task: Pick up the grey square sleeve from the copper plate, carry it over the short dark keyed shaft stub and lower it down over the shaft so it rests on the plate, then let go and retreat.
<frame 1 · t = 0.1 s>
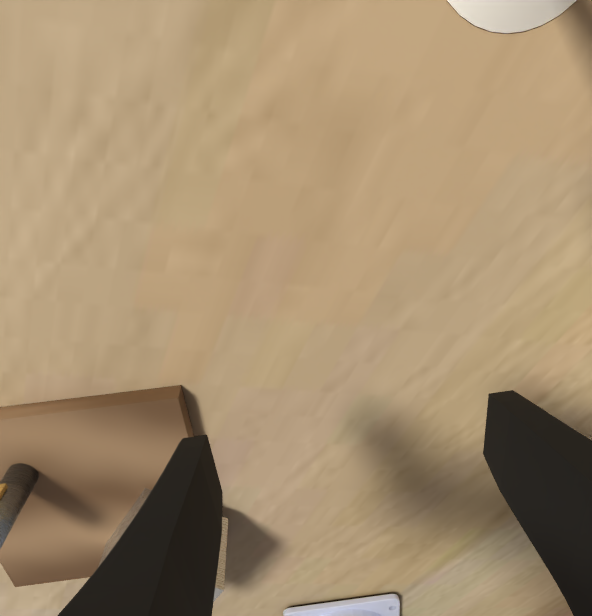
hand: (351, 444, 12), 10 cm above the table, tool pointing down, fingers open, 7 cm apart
copper plate: (93, 487, 25), on the table
grey square sleeve: (166, 531, 26), point 1 cm above the table, touching copper plate
shaft stub: (31, 459, 24), resting on copper plate
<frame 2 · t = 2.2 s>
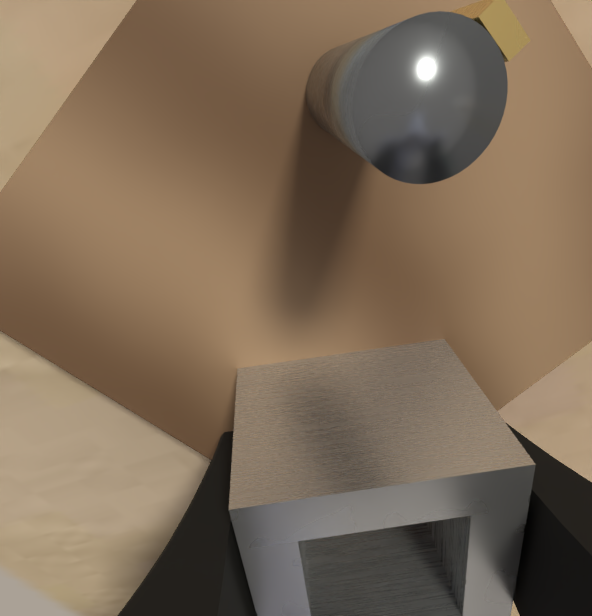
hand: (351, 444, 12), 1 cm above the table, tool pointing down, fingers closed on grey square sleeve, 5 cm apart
copper plate: (333, 255, 11), on the table
grey square sleeve: (348, 433, 12), point 1 cm above the table, touching gripper, copper plate
shaft stub: (337, 91, 9), resting on copper plate
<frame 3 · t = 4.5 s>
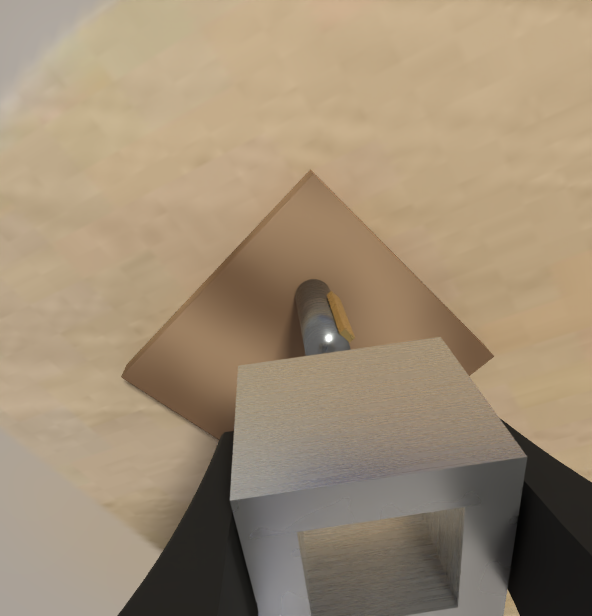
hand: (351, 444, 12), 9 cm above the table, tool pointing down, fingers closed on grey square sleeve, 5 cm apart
copper plate: (310, 354, 22), on the table
grey square sleeve: (346, 429, 12), point 9 cm above the table, touching gripper
shaft stub: (310, 286, 20), resting on copper plate
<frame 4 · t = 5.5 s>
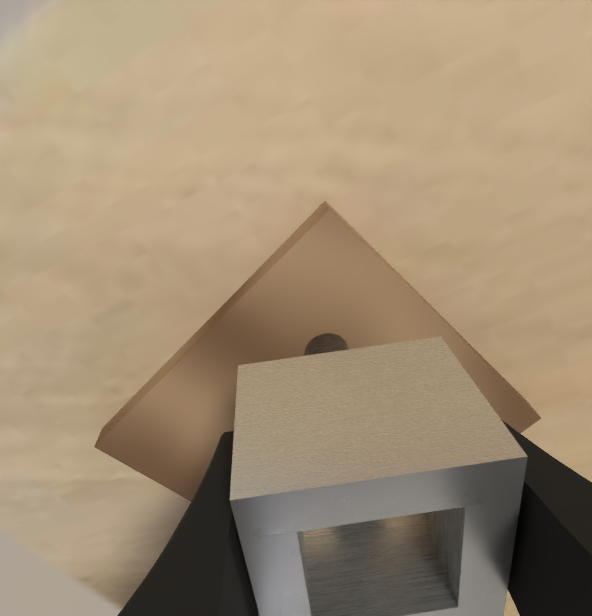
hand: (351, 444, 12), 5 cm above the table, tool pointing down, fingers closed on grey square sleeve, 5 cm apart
copper plate: (321, 414, 18), on the table
grey square sleeve: (346, 429, 12), point 5 cm above the table, touching gripper
shaft stub: (322, 337, 17), resting on copper plate
when the fingers open (3 cm above the table, at t = 6.6 s): grey square sleeve drops 2 cm, resting on copper plate.
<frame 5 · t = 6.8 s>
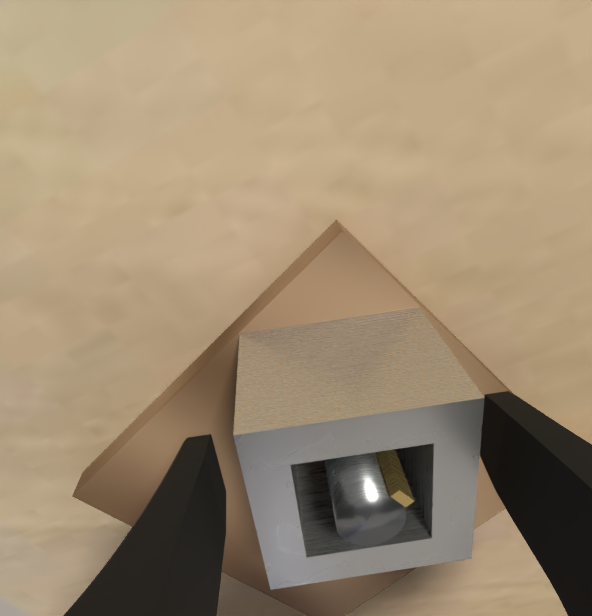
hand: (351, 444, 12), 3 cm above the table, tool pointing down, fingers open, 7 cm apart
copper plate: (329, 455, 16), on the table
grey square sleeve: (337, 393, 14), point 1 cm above the table, touching copper plate
shaft stub: (332, 372, 15), resting on copper plate
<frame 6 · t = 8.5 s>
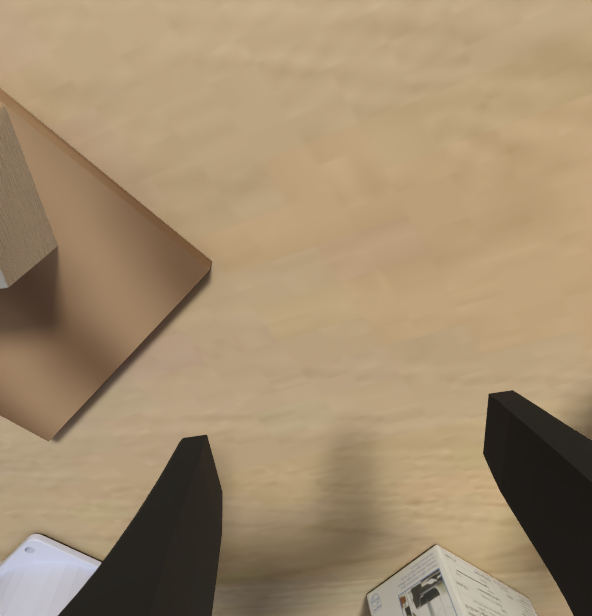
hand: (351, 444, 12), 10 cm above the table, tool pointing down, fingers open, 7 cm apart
copper plate: (6, 269, 19), on the table
light bulb box: (448, 591, 32), on the table
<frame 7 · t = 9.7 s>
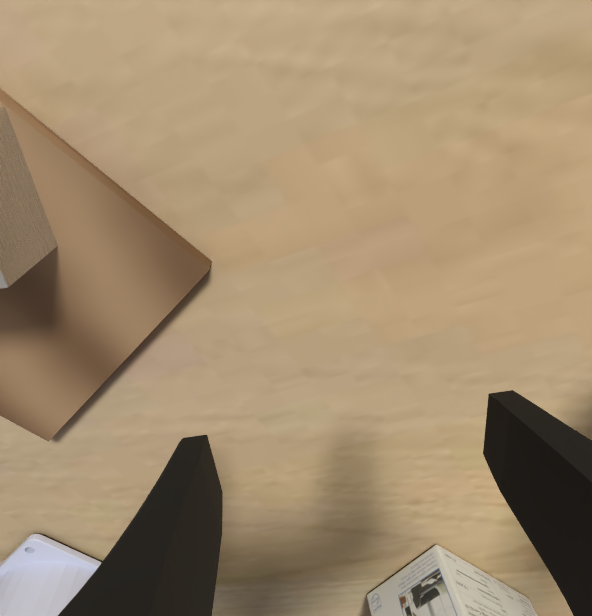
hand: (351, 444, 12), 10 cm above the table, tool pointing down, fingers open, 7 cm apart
copper plate: (6, 269, 19), on the table
light bulb box: (448, 591, 32), on the table
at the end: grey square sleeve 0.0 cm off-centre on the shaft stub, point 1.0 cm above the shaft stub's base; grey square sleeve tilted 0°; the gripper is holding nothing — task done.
